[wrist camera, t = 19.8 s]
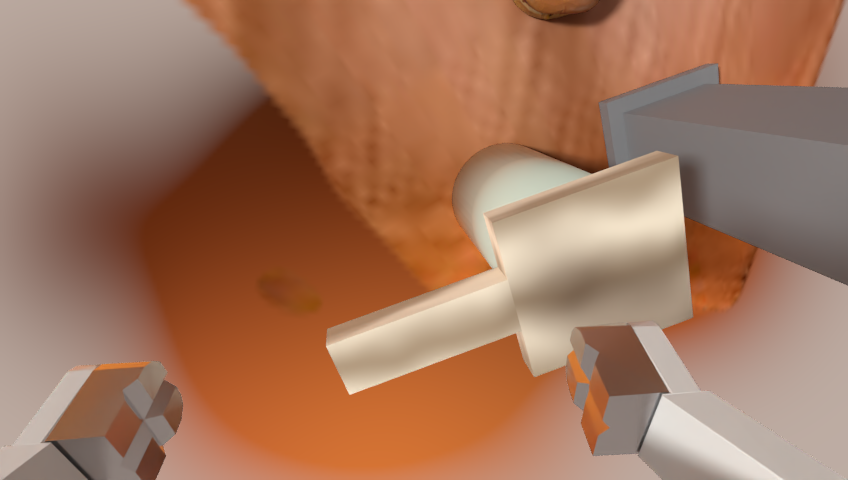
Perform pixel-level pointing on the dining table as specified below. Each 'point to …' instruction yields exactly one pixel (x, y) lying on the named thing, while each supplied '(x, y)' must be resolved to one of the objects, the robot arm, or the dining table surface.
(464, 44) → the dining table surface
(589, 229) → the cutting board
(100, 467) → the robot arm
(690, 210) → the plinth
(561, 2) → the burger
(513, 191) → the crock
